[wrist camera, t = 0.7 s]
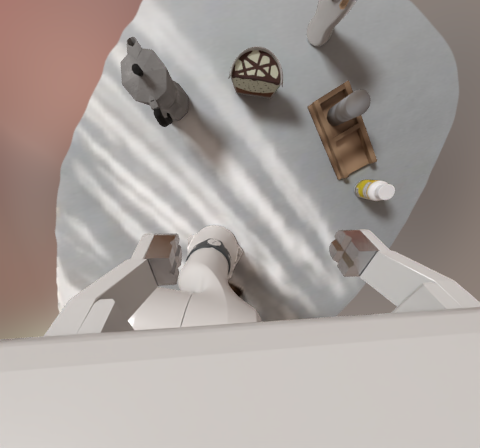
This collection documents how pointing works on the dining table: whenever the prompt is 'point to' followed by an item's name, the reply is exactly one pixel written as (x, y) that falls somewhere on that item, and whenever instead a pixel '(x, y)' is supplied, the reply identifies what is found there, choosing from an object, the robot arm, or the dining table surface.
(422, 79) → the dining table surface
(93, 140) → the dining table surface
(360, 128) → the wooden compartment tray
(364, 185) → the supplement bottle
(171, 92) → the coffeepot
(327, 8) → the beer glass
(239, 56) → the food container
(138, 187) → the dining table surface
